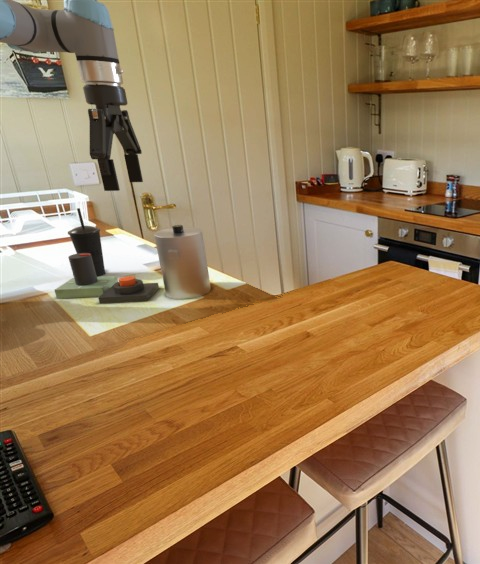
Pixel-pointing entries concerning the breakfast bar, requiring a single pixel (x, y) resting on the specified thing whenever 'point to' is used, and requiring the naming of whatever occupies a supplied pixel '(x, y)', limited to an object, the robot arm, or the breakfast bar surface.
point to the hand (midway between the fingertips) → (125, 186)
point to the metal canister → (183, 262)
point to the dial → (83, 268)
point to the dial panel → (85, 288)
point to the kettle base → (129, 292)
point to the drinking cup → (88, 243)
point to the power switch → (127, 281)
